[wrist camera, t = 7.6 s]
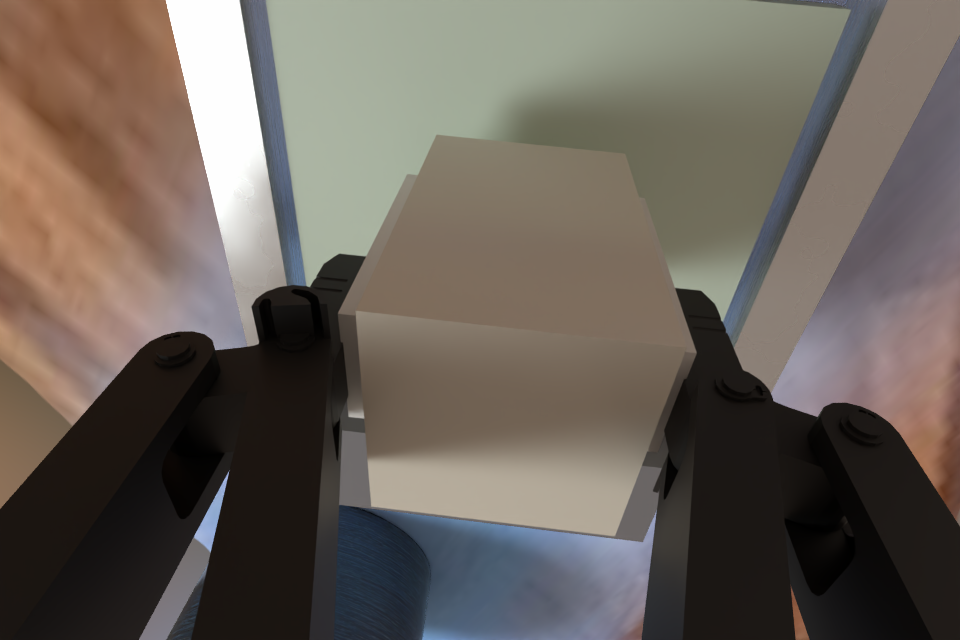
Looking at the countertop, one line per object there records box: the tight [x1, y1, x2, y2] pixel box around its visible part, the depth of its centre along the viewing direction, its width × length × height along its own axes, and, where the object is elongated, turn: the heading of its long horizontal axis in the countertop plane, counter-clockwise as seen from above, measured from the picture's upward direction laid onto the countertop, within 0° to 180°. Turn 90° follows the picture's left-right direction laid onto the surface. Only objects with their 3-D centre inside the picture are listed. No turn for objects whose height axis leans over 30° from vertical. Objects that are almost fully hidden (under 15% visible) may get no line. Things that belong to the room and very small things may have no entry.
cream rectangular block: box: [356, 135, 687, 536], centre depth 13 cm, size 5×5×8 cm
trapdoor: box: [266, 0, 851, 542], centre depth 21 cm, size 20×15×5 cm
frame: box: [166, 0, 960, 393], centre depth 24 cm, size 20×20×14 cm
